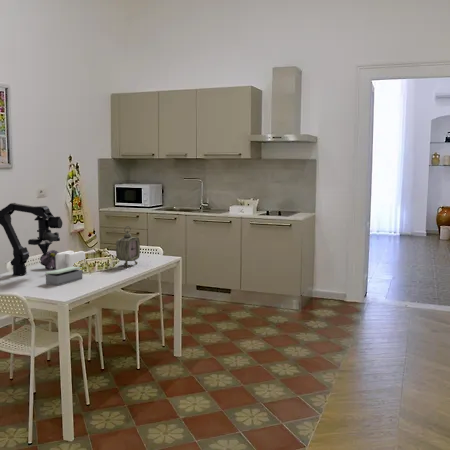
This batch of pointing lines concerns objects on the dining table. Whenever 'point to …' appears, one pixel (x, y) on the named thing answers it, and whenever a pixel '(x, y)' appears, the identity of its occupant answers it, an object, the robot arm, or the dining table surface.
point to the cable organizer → (68, 259)
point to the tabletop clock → (128, 248)
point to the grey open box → (63, 277)
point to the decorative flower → (49, 259)
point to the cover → (63, 270)
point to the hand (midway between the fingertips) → (45, 254)
